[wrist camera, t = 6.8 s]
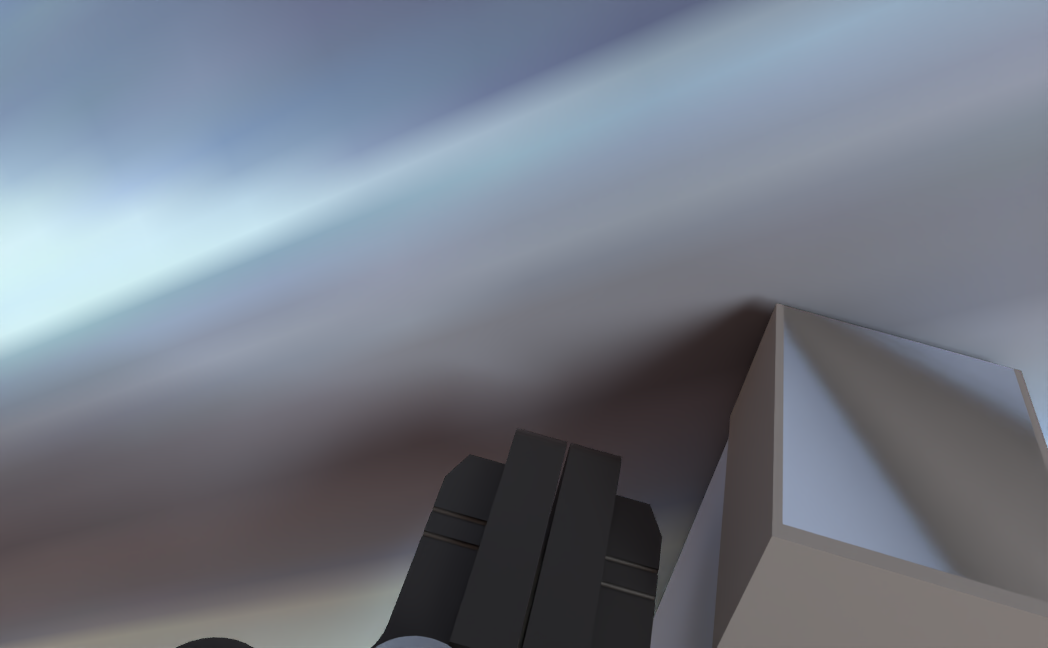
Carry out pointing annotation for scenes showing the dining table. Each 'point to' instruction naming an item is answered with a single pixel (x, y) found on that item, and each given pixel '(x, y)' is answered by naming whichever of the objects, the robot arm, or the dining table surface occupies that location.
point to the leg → (867, 502)
